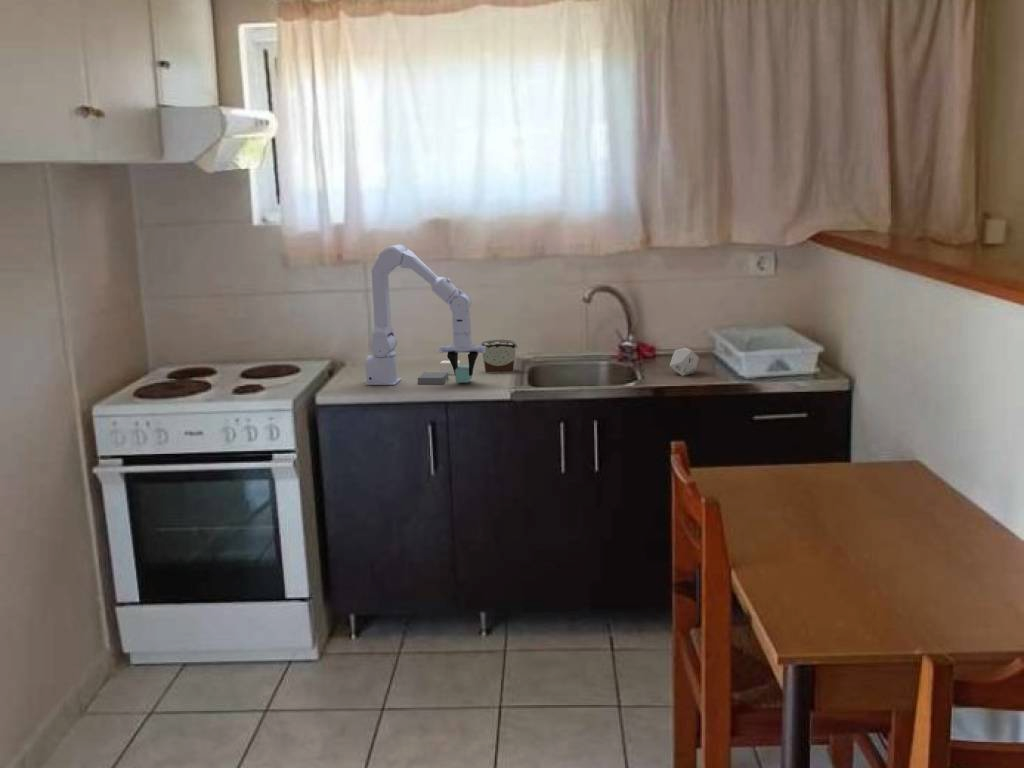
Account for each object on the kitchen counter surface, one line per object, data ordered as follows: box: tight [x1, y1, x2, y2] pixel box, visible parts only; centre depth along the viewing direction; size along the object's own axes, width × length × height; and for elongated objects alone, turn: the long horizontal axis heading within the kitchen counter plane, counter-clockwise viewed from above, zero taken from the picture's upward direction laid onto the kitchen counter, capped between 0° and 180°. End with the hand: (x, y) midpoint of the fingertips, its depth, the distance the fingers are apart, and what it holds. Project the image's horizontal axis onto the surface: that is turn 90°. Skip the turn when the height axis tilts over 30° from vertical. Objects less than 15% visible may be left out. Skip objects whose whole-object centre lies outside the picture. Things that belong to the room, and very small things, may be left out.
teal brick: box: [454, 365, 473, 383], centre depth 321 cm, size 4×6×4 cm, turn 171°
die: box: [669, 347, 700, 377], centre depth 323 cm, size 8×9×10 cm
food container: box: [480, 339, 518, 374], centre depth 336 cm, size 12×6×10 cm, turn 84°
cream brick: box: [439, 360, 461, 376], centre depth 335 cm, size 6×4×4 cm, turn 82°
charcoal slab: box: [417, 371, 449, 385], centre depth 325 cm, size 8×8×2 cm
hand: (463, 375), depth 321 cm, fingers closed on teal brick, 4 cm apart
